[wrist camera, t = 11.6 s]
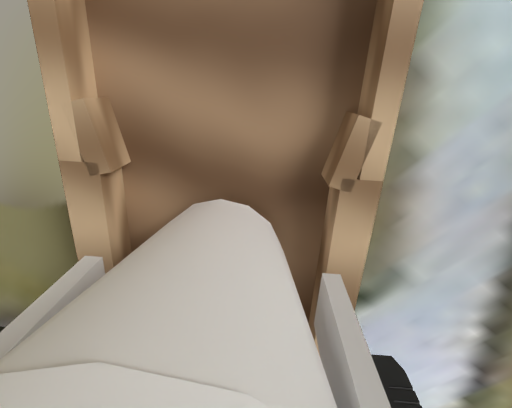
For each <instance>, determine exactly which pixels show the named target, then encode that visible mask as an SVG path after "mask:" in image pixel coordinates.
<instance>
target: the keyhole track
mask: <svg viewBox="0 0 512 408" xmlns="http://www.w3.org/2000/svg"><path fill="white" fill-rule="evenodd" d="M423 1H424V0H27V2H28V7H29V12H30V17H31V22H32V27H33V33H34V37H35V42H36V48H37V53H38V58H39V63H40V68H41V74H42V79H43V84H44V89H45V94H46V99H47V104H48V110H49V114H50V120H51V125H52V130H53V135H54V140H55V145H56V150H57V156H58V161H59V166H60V171H61V176H62V181H63V187H64V192H65V197H66V202H67V207H68V212H69V217H70V222H71V228H72V233H73V238H74V243H75V248H76V253H77V258H78V262H79V261H80V260H81V259H82V258H83V257H84V256H96V257H103V263H104V270H105V274H106V273H107V272H108V271H110V270H111V269H112V268H113V267H115V266H116V265H117V264H118V263H119V262H121V261H122V260H123V259H124V258H126V257H127V256H128V255H129V254H131V253H132V252H133V251H134V250H135V249H137V248H138V247H139V246H140V245H142V244H143V243H144V242H145V241H147V240H148V239H149V238H150V237H151V236H153V235H154V234H155V233H156V232H158V231H159V230H160V229H161V228H162V227H164V226H165V225H166V224H167V223H169V222H170V221H171V220H173V219H174V218H175V217H177V216H178V215H179V214H181V213H182V212H183V211H185V210H186V209H187V208H189V207H190V206H192V205H193V204H196V203H201V202H207V201H212V200H218V199H223V200H227V201H231V202H235V203H239V204H243V205H247V206H250V207H251V208H252V209H253V210H255V211H256V212H257V213H258V214H260V215H261V216H262V217H264V218H265V219H266V220H267V221H269V222H270V223H271V225H272V227H273V229H274V232H275V234H276V236H277V238H278V240H279V242H280V244H281V247H282V249H283V251H284V254H285V257H286V260H287V263H288V266H289V269H290V272H291V275H292V278H293V280H294V283H295V286H296V289H297V292H298V295H299V298H300V301H301V304H302V307H303V309H304V312H305V315H306V318H307V321H308V324H309V327H310V330H311V333H312V336H313V338H314V341H315V344H316V347H317V350H318V353H319V349H318V343H317V338H316V333H315V327H314V320H315V314H316V308H317V301H318V295H319V289H320V283H321V277H322V273H329V274H340V275H341V277H342V280H343V283H344V285H345V288H346V291H347V293H348V296H349V298H350V301H351V304H352V306H353V309H354V311H355V307H356V302H357V298H358V293H359V289H360V284H361V280H362V275H363V271H364V266H365V262H366V257H367V253H368V248H369V244H370V239H371V235H372V230H373V226H374V221H375V217H376V212H377V208H378V203H379V199H380V194H381V190H382V185H383V181H384V176H385V172H386V167H387V163H388V158H389V154H390V149H391V145H392V140H393V136H394V131H395V127H396V122H397V118H398V113H399V109H400V104H401V100H402V95H403V91H404V87H405V82H406V78H407V73H408V69H409V64H410V60H411V55H412V51H413V46H414V42H415V37H416V33H417V28H418V24H419V19H420V15H421V10H422V6H423ZM319 356H320V354H319Z"/></svg>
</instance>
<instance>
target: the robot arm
mask: <svg viewBox="0 0 512 408" xmlns="http://www.w3.org/2000/svg"><path fill="white" fill-rule="evenodd" d="M103 275H105V270H104V263H103V257H96V256H84V257H83V258H82V259H81V260H80V261H79V262H77V263H76V264H75V265H74V266H73V267H72V268H71V269H70V270H69V271H67V272H66V273H65V274H64V275H63V276H62V277H61V278H60V279H59V280H57V281H56V282H55V283H54V284H53V285H52V286H51V287H50V288H49V289H48V290H46V291H45V292H44V293H43V294H42V295H41V296H40V297H39V298H38V299H36V300H35V301H34V302H33V303H32V304H31V305H30V306H29V307H28V308H27V309H25V310H24V311H23V312H22V313H21V314H20V315H19V316H18V317H17V318H15V319H14V320H13V321H12V322H11V323H10V324H9V325H8V326H7V327H0V359H1V358H3V357H4V356H5V355H6V354H8V353H9V352H10V351H11V350H13V349H14V348H15V347H16V346H17V345H19V344H20V343H21V342H22V341H24V340H25V339H26V338H27V337H29V336H30V335H31V334H32V333H33V332H35V331H36V330H37V329H38V328H40V327H41V326H42V325H43V324H44V323H46V322H47V321H48V320H49V319H51V318H52V317H53V316H54V315H56V314H57V313H58V312H59V311H60V310H62V309H63V308H64V307H65V306H67V305H68V304H69V303H70V302H72V301H73V300H74V299H75V298H76V297H78V296H79V295H80V294H81V293H83V292H84V291H85V290H86V289H88V288H89V287H90V286H91V285H92V284H94V283H95V282H96V281H97V280H99V279H100V278H101V277H102V276H103ZM314 327H315V333H316V338H317V343H318V349H319V354H320V359H321V362H322V365H323V368H324V370H325V373H326V376H327V379H328V382H329V385H330V388H331V391H332V394H333V397H334V399H335V402H336V405H337V408H422V406H420V404H419V400H418V398H417V396H416V394H415V392H414V391H413V387H412V385H411V383H410V381H409V379H408V377H407V375H406V373H405V371H404V370H403V368H402V367H401V366H400V365H399V364H398V363H397V362H396V361H395V360H394V358H393V357H392V356H383V355H371V354H370V351H369V348H368V346H367V343H366V340H365V338H364V335H363V333H362V330H361V327H360V325H359V322H358V319H357V317H356V314H355V312H354V309H353V306H352V304H351V301H350V298H349V296H348V293H347V291H346V288H345V285H344V283H343V280H342V277H341V275H340V274H329V273H322V277H321V283H320V289H319V295H318V301H317V308H316V314H315V320H314Z"/></svg>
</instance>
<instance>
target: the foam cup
mask: <svg viewBox="0 0 512 408" xmlns="http://www.w3.org/2000/svg"><path fill="white" fill-rule="evenodd" d="M0 408H337V405H336V402H335V399H334V397H333V394H332V391H331V388H330V385H329V382H328V379H327V376H326V373H325V370H324V368H323V365H322V362H321V359H320V356H319V353H318V350H317V347H316V344H315V341H314V338H313V336H312V333H311V330H310V327H309V324H308V321H307V318H306V315H305V312H304V309H303V307H302V304H301V301H300V298H299V295H298V292H297V289H296V286H295V283H294V280H293V278H292V275H291V272H290V269H289V266H288V263H287V260H286V257H285V254H284V251H283V249H282V247H281V244H280V242H279V240H278V238H277V236H276V234H275V232H274V229H273V227H272V225H271V223H270V222H269V221H267V220H266V219H265V218H264V217H262V216H261V215H260V214H258V213H257V212H256V211H255V210H253V209H252V208H251V207H250V206H247V205H243V204H239V203H235V202H231V201H227V200H223V199H218V200H212V201H207V202H201V203H196V204H193V205H192V206H190V207H189V208H187V209H186V210H185V211H183V212H182V213H181V214H179V215H178V216H177V217H175V218H174V219H173V220H171V221H170V222H169V223H167V224H166V225H165V226H164V227H162V228H161V229H160V230H159V231H158V232H156V233H155V234H154V235H153V236H151V237H150V238H149V239H148V240H147V241H145V242H144V243H143V244H142V245H140V246H139V247H138V248H137V249H135V250H134V251H133V252H132V253H131V254H129V255H128V256H127V257H126V258H124V259H123V260H122V261H121V262H119V263H118V264H117V265H116V266H115V267H113V268H112V269H111V270H110V271H108V272H107V273H106V274H105V275H103V276H102V277H101V278H100V279H99V280H97V281H96V282H95V283H94V284H92V285H91V286H90V287H89V288H88V289H86V290H85V291H84V292H83V293H81V294H80V295H79V296H78V297H76V298H75V299H74V300H73V301H72V302H70V303H69V304H68V305H67V306H65V307H64V308H63V309H62V310H60V311H59V312H58V313H57V314H56V315H54V316H53V317H52V318H51V319H49V320H48V321H47V322H46V323H44V324H43V325H42V326H41V327H40V328H38V329H37V330H36V331H35V332H33V333H32V334H31V335H30V336H29V337H27V338H26V339H25V340H24V341H22V342H21V343H20V344H19V345H17V346H16V347H15V348H14V349H13V350H11V351H10V352H9V353H8V354H6V355H5V356H4V357H3V358H1V359H0Z"/></svg>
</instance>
